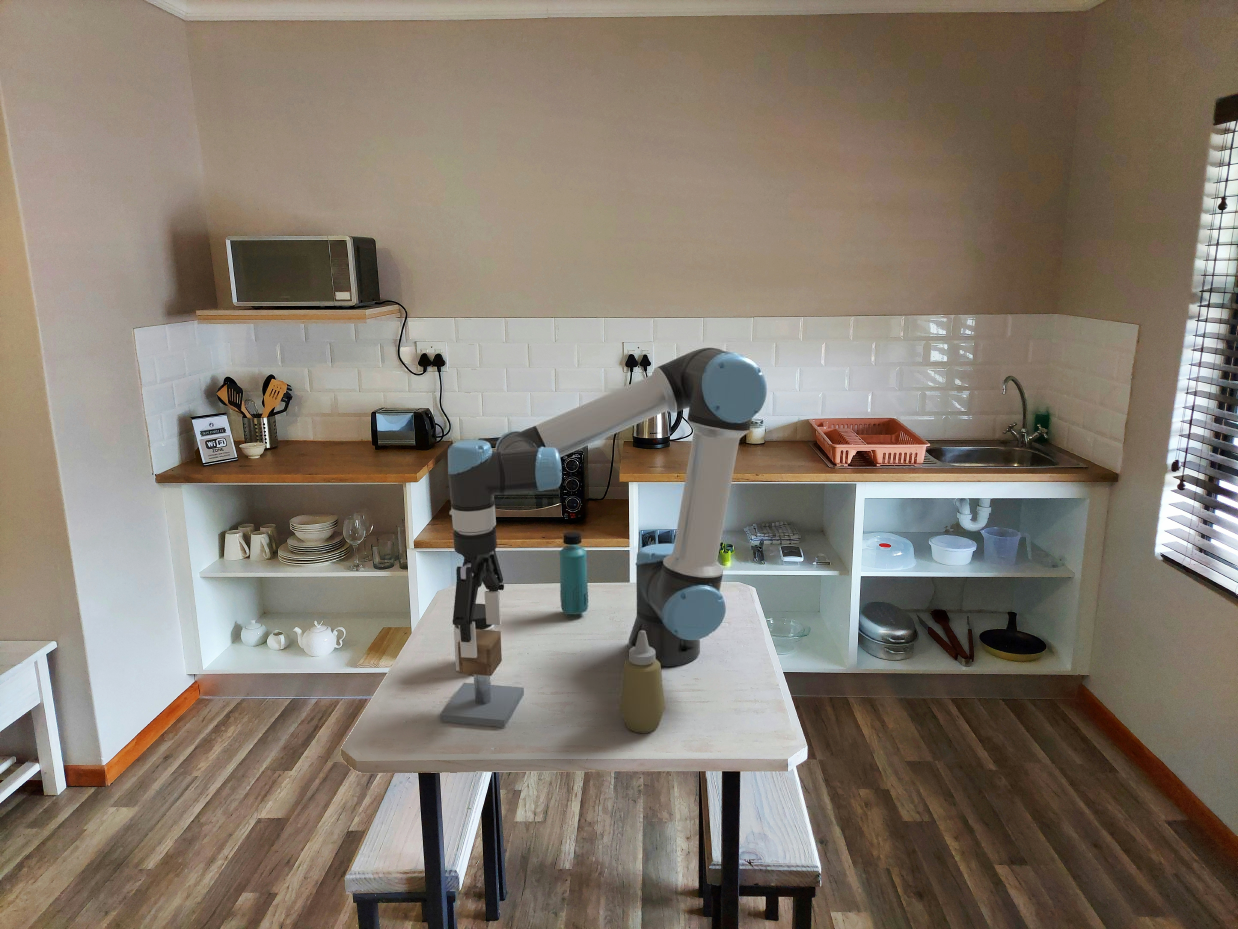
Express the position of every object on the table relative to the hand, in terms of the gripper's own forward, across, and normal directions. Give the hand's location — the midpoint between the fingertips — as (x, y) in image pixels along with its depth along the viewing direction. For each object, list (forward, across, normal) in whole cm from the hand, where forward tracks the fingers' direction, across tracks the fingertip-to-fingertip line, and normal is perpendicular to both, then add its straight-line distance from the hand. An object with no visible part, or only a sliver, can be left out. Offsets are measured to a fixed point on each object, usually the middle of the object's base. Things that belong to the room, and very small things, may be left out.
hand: (482, 639), depth 157 cm
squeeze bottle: (+14, +1, +29) cm, 33 cm away
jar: (+14, -16, -8) cm, 22 cm away
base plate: (+14, 0, -1) cm, 14 cm away
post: (+12, 0, -1) cm, 12 cm away
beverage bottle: (+14, -44, +6) cm, 46 cm away
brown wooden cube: (+5, 0, 0) cm, 5 cm away
